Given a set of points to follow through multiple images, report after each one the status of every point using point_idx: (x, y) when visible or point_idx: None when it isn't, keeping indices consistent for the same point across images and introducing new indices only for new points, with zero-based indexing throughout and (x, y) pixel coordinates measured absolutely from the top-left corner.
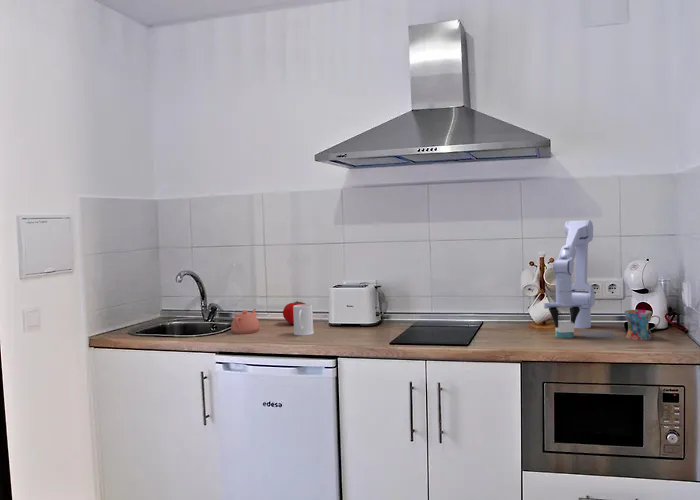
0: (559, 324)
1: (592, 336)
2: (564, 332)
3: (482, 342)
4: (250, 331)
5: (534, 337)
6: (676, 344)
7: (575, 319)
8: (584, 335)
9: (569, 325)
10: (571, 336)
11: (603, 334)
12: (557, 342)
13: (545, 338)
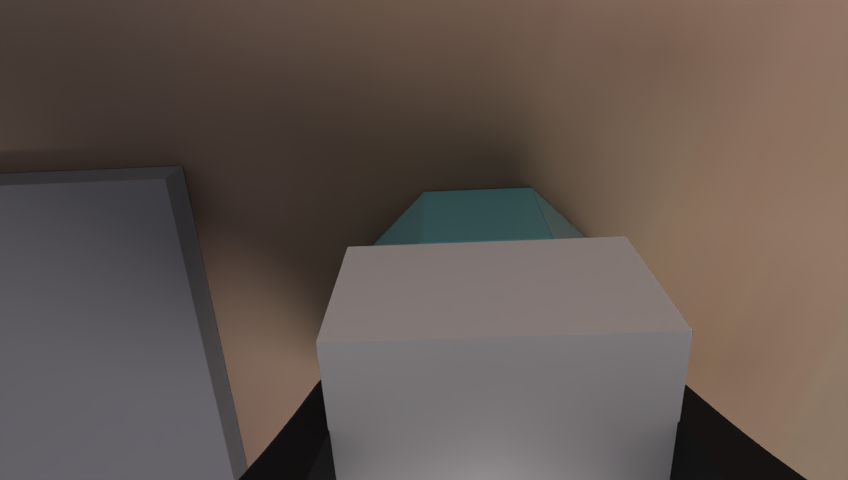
0: (678, 316)
1: (71, 262)
2: (530, 235)
3: None
4: None
5: (845, 425)
6: None
7: (244, 476)
8: (183, 341)
9: (430, 310)
10: (398, 237)
11: None
12: (677, 35)
13: (730, 352)
